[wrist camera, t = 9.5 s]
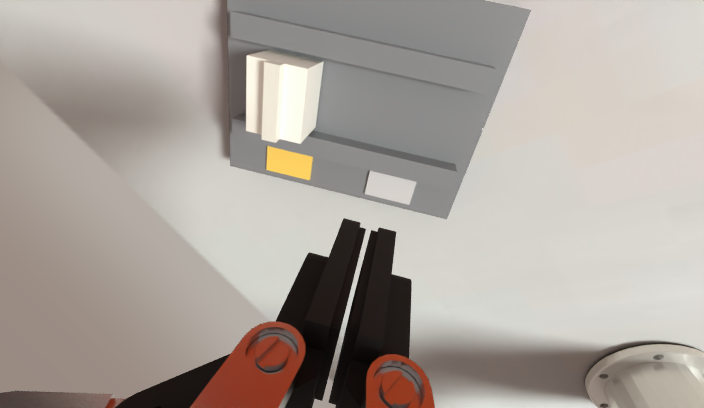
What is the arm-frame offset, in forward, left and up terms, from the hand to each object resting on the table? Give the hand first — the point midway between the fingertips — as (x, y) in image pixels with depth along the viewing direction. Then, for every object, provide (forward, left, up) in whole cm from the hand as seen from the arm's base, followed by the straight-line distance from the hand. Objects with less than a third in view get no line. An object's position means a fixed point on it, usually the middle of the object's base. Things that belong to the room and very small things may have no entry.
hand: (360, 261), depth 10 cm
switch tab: (+8, 0, -17) cm, 19 cm away
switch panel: (+3, 0, -19) cm, 19 cm away
